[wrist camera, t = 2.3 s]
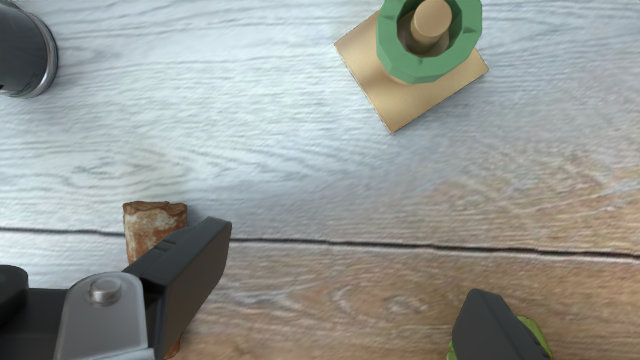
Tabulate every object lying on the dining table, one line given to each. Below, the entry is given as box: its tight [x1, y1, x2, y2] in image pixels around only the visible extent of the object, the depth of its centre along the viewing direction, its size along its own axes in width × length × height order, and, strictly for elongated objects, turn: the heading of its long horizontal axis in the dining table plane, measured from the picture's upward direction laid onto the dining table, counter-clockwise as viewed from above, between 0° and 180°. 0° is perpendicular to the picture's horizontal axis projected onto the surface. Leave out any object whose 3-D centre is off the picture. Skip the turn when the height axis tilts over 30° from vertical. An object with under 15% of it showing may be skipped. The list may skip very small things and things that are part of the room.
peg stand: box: [334, 0, 489, 134], centre depth 25 cm, size 10×10×11 cm
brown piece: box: [123, 201, 187, 360], centre depth 34 cm, size 6×19×6 cm, turn 173°
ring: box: [376, 0, 482, 84], centre depth 22 cm, size 6×6×3 cm
